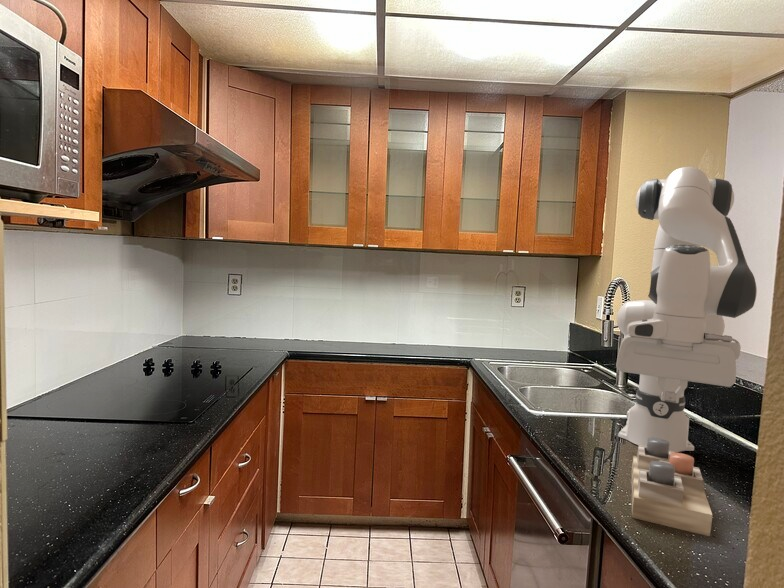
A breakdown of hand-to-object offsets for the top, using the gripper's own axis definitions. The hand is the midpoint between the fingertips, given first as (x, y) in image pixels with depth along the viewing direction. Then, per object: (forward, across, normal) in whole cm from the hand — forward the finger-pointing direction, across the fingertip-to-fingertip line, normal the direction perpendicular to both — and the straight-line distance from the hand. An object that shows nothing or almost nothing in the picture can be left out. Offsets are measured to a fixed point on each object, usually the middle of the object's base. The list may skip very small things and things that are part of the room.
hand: (669, 401), depth 103 cm
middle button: (+16, -4, -8) cm, 18 cm away
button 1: (+16, 0, -16) cm, 22 cm away
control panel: (+22, -2, -8) cm, 24 cm away
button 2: (+16, 0, 0) cm, 16 cm away
